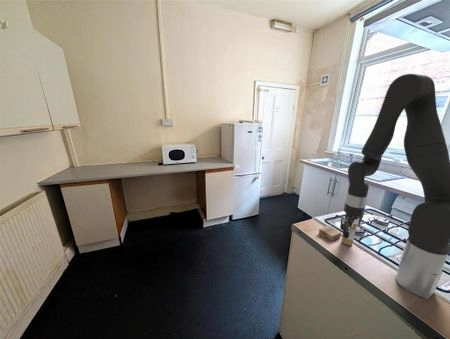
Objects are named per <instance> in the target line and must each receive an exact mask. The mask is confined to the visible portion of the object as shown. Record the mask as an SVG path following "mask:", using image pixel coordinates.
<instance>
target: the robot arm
mask: <svg viewBox="0 0 450 339" xmlns="http://www.w3.org/2000/svg"><path fill="white" fill-rule="evenodd" d="M434 81H435V80H433V78H431V77H430V76H429V75H425V74H419V73H405V74H403V75H400V76H397V77H396V78H395V79H394V80H393V81H392V82H391V83H390V85H389V86H388V88H387V90H386V93H385V96H384V98H383V102H382V104H381V108H380V110H379V112H378V115H377V119H376V122H375V123H374V126H373V128H372V129H371V130H372V131H371V132H370V134H369V135H368V137H367V140H366V141H365V143H364V145H363V146H362V149H361V154H362V155H363V158H362V159H361V160H357V161H356V160H355V161H353V162H351V163H350V164H349V167H348V168H347V176H348V184H349V185H348V188H347V194H346V195H345V201H344V207H343V212H344V213H345V216H344V218H341V219H340V230H341V231H342V232H343V233H342V238H343V237H344V238H346V239H347V238H348V237H349V231H350V229H351V228H352V227H353V225H354V224H353V223H354V222H355V221H356V219H357V220H358V223H357V225H356V230H357V229H358V228H359V227H360V226H361V223H362V220H363V218H364V215H365V210H366V205H367V200H368V199H367V198H368V194H369V188H370V187H369V183H367V182H366V181H365V177H370V176H373V175H374V174H376V172H377V171H378V169H379V167H380V165H381V162H382V157H383V155H384V154H385V152H386V151H387V149H388V148H389V146H390V144H391V143H392V141H393V138H394V134H395V130H396V126H397V123H398V120H399V118H400V116H401V115H402V113H403V111H405V115H406V129H405V133H404V136H403V149H404V152H405V157H406V158H405V159H406V160H407V164H408V166H409V167H410V169H411V170H412V172H413V173H414V175H415V177H417V179H418V180H419V183H420V184H421V186H422V191H423V192H422V193H423V196H424V202H421V203H420V204H418V205H416V206H415V208H414V209H413V210H412V214H411V217H410V220H409V225H408V229H407V233H408V237H407V241H406V243H405V246H404V249H403V253H402V255H401V259H400V262H399V265H398V269H397V271H396V274H395V281H396V283H398V285H399V286H401V287H402V288H403V289H404V290H406V291H408V292H409V293H411V294H414V295H416V296H417V297H418V296H419V297H421V298H423V299H425V300H428V299H429V298H431V296H432V295H433V294H434V293H435V291H436V290H437V286H438V284H439V282H440V280H441V277H442V275H443V272H444V270H443V269H444V265H445V263H446V260H447V258H448V255H449V253H450V155H449V150H448V145H447V142H446V138H445V135H444V131H443V127H442V123H441V120H440V117H439V114H438V110H437V100H436V99H437V97H436V87H435V82H434ZM348 224H351V225H348Z"/></svg>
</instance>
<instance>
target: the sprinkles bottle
mask: <svg viewBox="0 0 450 339" xmlns="http://www.w3.org/2000/svg"><path fill="white" fill-rule="evenodd" d="M357 223H358V220H357V219H356V221H355V222H354V223H353V224H354V225H353V227H352V228H351V229H350V231H349V237H348V238H347V239H346V238H344V237H343V236H342V238H341V242H342V243H343V244H344V245H347V246H353V244H354V243H353V242H354V238H355V234H356V230H357V229H356V225H357ZM348 225H351V224H348Z"/></svg>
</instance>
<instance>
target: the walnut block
mask: <svg viewBox="0 0 450 339" xmlns="http://www.w3.org/2000/svg"><path fill="white" fill-rule="evenodd" d="M318 234H319V235H320V236H322V238H325V239H327V240H328V241H330V242H333V241H336V240H338V239H340V238H341V236H342V232H341V231H339V230H338V229H336V228H334V227H332V226H330V225H326V226H323V227H321V228H319V231H318Z"/></svg>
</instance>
